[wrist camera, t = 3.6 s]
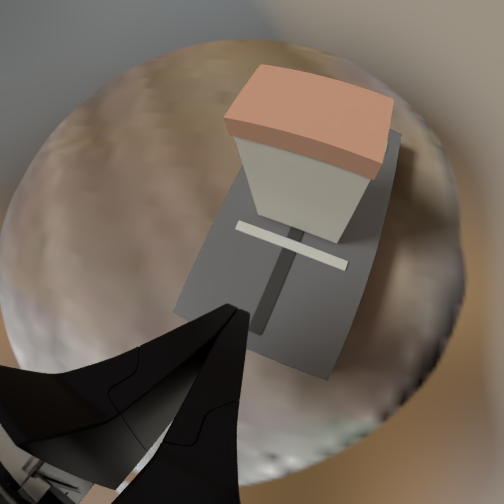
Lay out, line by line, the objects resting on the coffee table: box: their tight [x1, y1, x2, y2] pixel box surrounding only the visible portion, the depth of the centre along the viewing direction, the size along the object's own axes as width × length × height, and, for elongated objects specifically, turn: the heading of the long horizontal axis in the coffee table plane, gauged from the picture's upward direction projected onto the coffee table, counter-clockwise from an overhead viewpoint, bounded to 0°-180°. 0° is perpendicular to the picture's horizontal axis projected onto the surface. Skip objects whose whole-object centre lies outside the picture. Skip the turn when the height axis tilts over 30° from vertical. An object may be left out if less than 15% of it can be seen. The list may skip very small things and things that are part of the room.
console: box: [173, 129, 401, 380], centre depth 17 cm, size 18×10×2 cm, turn 156°
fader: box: [224, 64, 394, 243], centre depth 12 cm, size 3×5×9 cm, turn 66°
